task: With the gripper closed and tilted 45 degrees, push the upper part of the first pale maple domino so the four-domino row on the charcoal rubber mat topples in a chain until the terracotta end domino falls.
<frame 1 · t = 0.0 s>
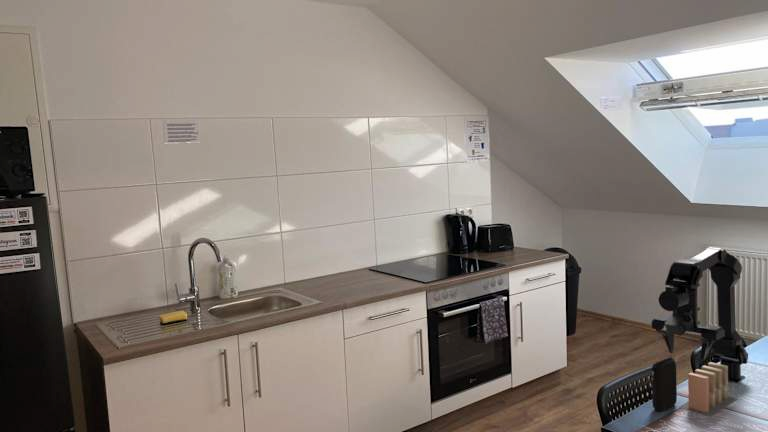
hand: (687, 356, 174), 15 cm above the table, tool pointing down, fingers open, 9 cm apart
rubber mat: (708, 404, 175), on the table
domino 3: (705, 404, 173), resting on rubber mat
black upright slab: (663, 410, 173), on the table
domino 1: (717, 397, 178), resting on rubber mat
domino 4: (698, 409, 171), resting on rubber mat
domino 2: (711, 400, 176), resting on rubber mat
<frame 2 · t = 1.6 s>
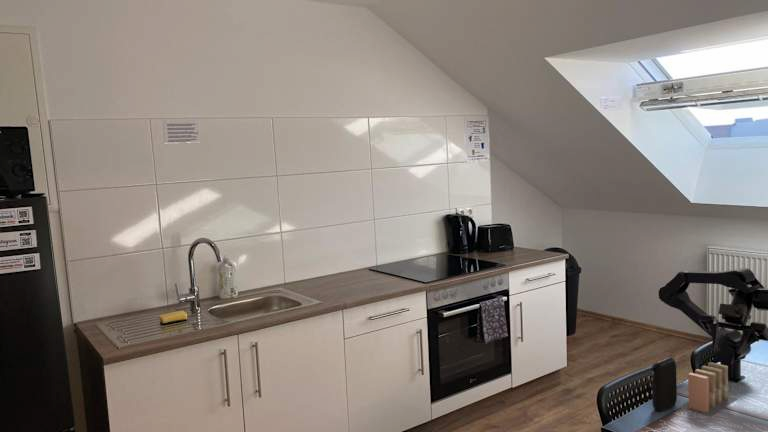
hand: (725, 350, 179), 14 cm above the table, tool tilted 45°, fingers open, 6 cm apart
nothing on the table moved.
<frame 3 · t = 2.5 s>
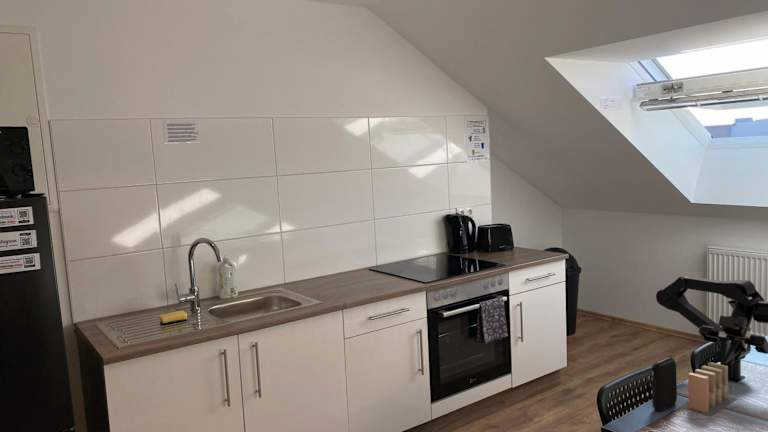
hand: (724, 362, 180), 10 cm above the table, tool tilted 45°, fingers closed
nothing on the table moved.
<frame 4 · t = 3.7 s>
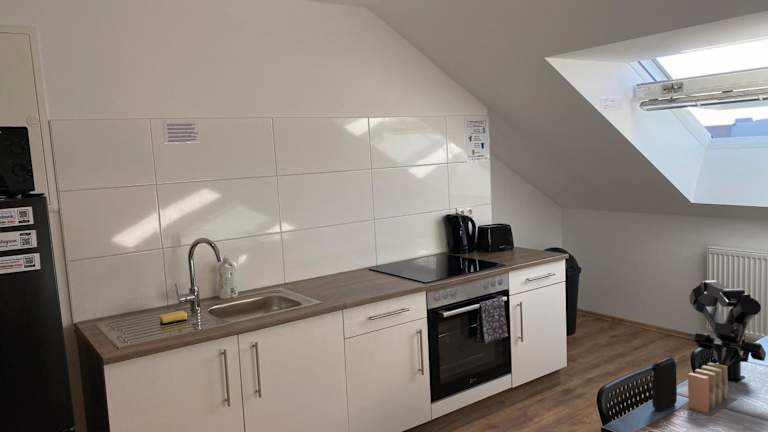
hand: (720, 370, 178), 9 cm above the table, tool tilted 45°, fingers closed
domino 1: (717, 396, 178), resting on rubber mat, touching gripper
everything else where it was.
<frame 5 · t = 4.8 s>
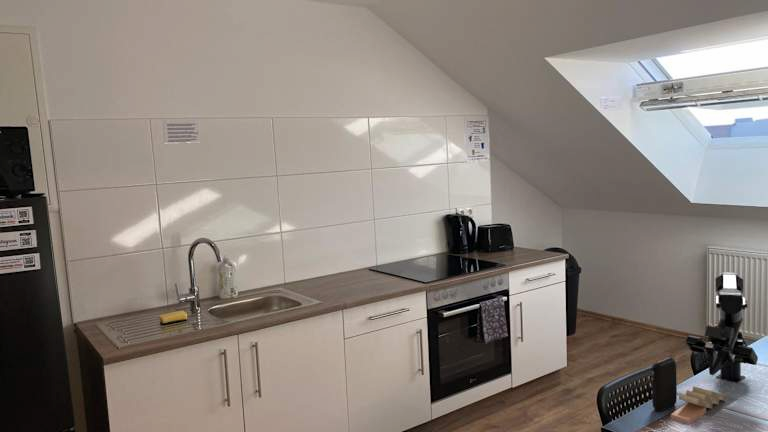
hand: (711, 374, 175), 9 cm above the table, tool tilted 45°, fingers closed
domino 3: (703, 403, 173), point 1 cm above the table, tilted 66°, touching domino 2, domino 4
domino 1: (716, 395, 178), point 1 cm above the table, tilted 66°, touching domino 2, rubber mat
domino 4: (697, 407, 170), point 1 cm above the table, tilted 93°, touching domino 3, rubber mat
domino 2: (710, 399, 175), point 1 cm above the table, tilted 66°, touching domino 1, domino 3, rubber mat
everything else where it was.
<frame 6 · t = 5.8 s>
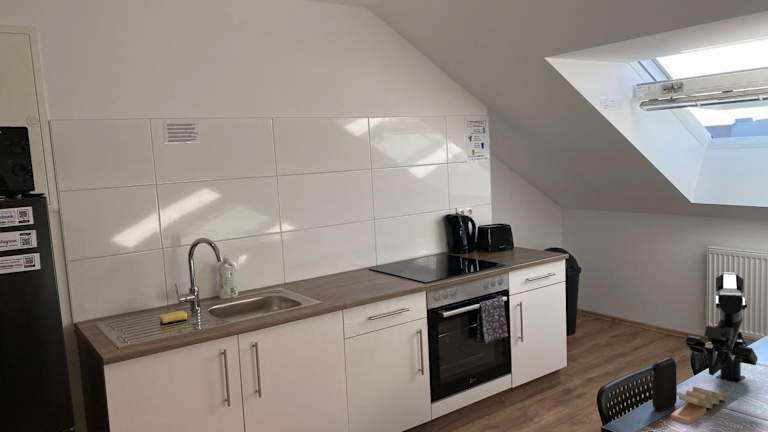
hand: (710, 374, 175), 9 cm above the table, tool tilted 45°, fingers closed
nothing on the table moved.
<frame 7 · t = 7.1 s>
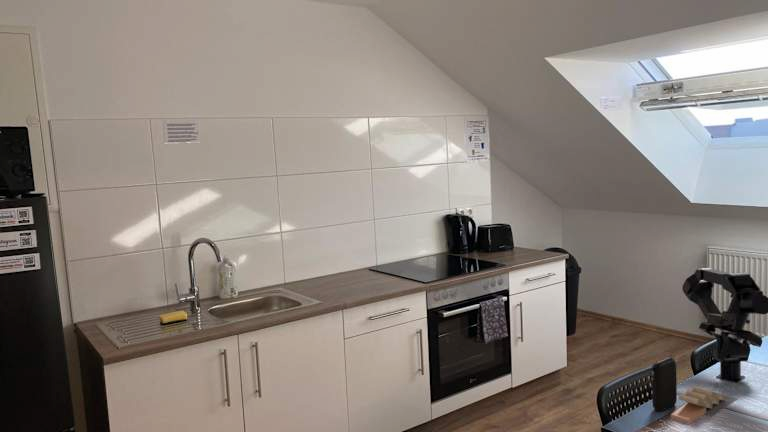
hand: (719, 359, 182), 10 cm above the table, tool tilted 30°, fingers closed
nothing on the table moved.
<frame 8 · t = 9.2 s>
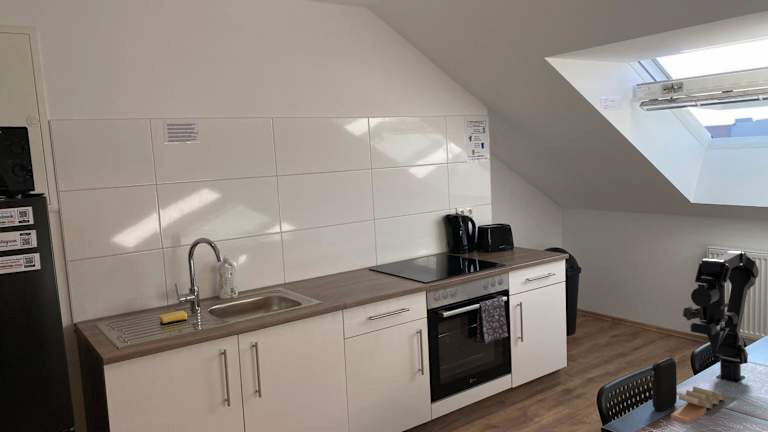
hand: (714, 349, 182), 13 cm above the table, tool pointing down, fingers closed
nothing on the table moved.
at the end: domino 4 tilted 93°; domino 2 tilted 66° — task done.
